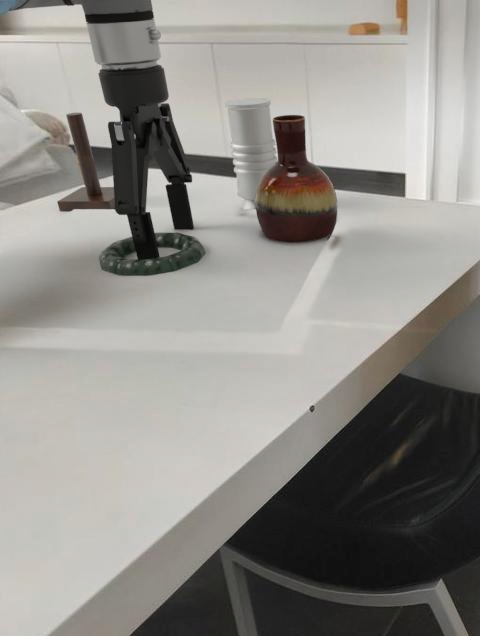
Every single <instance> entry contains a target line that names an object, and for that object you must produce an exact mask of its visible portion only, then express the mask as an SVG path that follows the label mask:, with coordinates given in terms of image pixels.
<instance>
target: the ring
mask: <svg viewBox="0 0 480 636" xmlns="http://www.w3.org/2000/svg"><path fill="white" fill-rule="evenodd" d="M154 233H155V237H156V242H157V246H158V248H166V249H167V248H172V249H175V250H179V251H176V252H174V253H171V254H169V255H165V256H160V257H158V258H152V259H136V258H132V259H131V258H126V257H127V256H129V255H131V254H133V253H136V250H135V246H134V242H133V238H132V236H130V237H129V236H128V237H126V238H123V239H120V240H117V241H114V242H112V243H111V244H110V245H108V246H107V247H106V248H104V249H103V250H102V251H101V252H100V253H99V257H98V262H99V265H100V269H101V271H104V272H105V273H108V274H109V273H110V274H113V275H116V276H120V277H121V276H123V277H148V276H154V275H161V274H167V273H172V272H177V271H181V270H182V269H185V268H187V267H190V266H192V265H195V264H198V263H199V262H200V261H201V260H202V259H203V257H204V256H205V255H206V254H207V251H206V248H205V247H204V246H203V244H202V243H201V241H200V239H198V238H197V237H195V236H193V235H189V234H185V233H181V232H154Z"/></svg>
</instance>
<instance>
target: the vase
mask: <svg viewBox="0 0 480 636" xmlns="http://www.w3.org/2000/svg"><path fill="white" fill-rule="evenodd" d="M272 128H273V132H274V137H275V138H274V139H275V144H276V145H275V146H276V154H277V162H275V163H276V164H275V165H274V166H272V167H271V168H270V169H269V170H268V171H267V172H266V173H265V175H264V176H263V178H262V179H261V181H260V183H259V186H258V189H257V192H256V200H255V204H256V209H255V212H256V217H257V221H258V224H259V227H260V229H261V231H262V233H263V235H264V236H265V237H266V238H267V239H269V240H271V241H275V242H280V243H306V242H311V241H316V240H320V239H323V238H326V237H327V240H326V241H328V240H329V239H330V237H331V236H332V235H333V232H334V231H335V227H336V224H337V218H338V198H337V193H336V190H335V187H334V185H333V183H332V181H331V179H330V178H329V176H328V175H327V174H326V173H325V172H324V170H322V169H321V168H320V167H319V166H317V165H316V164H315V163H313V162H310V161H309V159H308V157H307V156H308V155H307V147H306V146H307V142H306V117H305V116H304V115H301V114H285V115H278V116H275V117H273V118H272Z"/></svg>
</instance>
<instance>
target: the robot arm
mask: <svg viewBox="0 0 480 636" xmlns="http://www.w3.org/2000/svg"><path fill="white" fill-rule="evenodd" d="M75 5H77V6H79V5H80V6H81V7H82V10H83V13H84V18H85V22H86V27H87V33H88V36H89V41H90V46H91V49H92V54H93V55H92V56H93V58H94V62H95V63H96V64H97V65H100V66H101V69H99V72H98V73H97V74H98V78H99V82H100V87H101V89H102V90H101V91H102V95H103V99H104V102H105V104H107V106H110V107H116V108H117V109H118V111H119V119H120V120H119V121H108V123H107V129H108V134H109V138H110V144H111V145H110V146H111V161H112V180H113V187H114V200H115V208H114V211H115V213H116V214H118V215H119V216H126V217H127V221H128V225H129V229H130V234H131V237H132V238H133V242H134V246H135V250H136V252H135V254H136V258H137V259H152V258H158V257H161V256H160V252H159V247H158V246H157V242H156V237H155V233H156V232H155V229H154V224H153V219H152V214H151V212H150V211H147V197H148V179H149V164H150V162H151V161H152V160H153V159H154V160H155V162H156V164H157V166H158V167H159V169H160V170H161V172H162V174H163V176H164V177H165V179H166V181H167V182H168V184H166V185H165V190H166V195H167V200H168V201H167V202H168V206H169V211H170V215H171V220H172V225H173V230H174V231H175V230H177V231H182V230H183V231H193V230H195V225H194V220H193V215H192V208H191V203H190V198H189V192H188V187H187V184H189V183H190V184H191V183H193V175H192V174H191V168H190V167H191V166H190V164H189V162H188V158H187V156H186V153H185V150H184V148H183V147H184V146H183V145H182V142H181V140H180V139H181V138H180V136H179V134H178V131H177V128H176V125H175V123H174V119H173V114H172V110H171V105H170V104H169V102H167V101H168V100H169V96H170V94H169V89H168V84H167V79H166V78H167V77H166V72H165V68H164V67H163V66H162V65H161V64H158V61H159V60H160V59H161V58H162V53H161V48H160V43H159V40H160V39H161V37H162V34H161V31H160V30H159V29H157V26H156V21H155V15H154V11H153V10H154V9H153V4H152V0H0V16H1V15H4V14H7V13H8V12H12V11H19V10H23V9H24V10H25V9H37V8H48V7H49V8H51V7H62V6H68V7H71V6H72V7H73V6H75Z"/></svg>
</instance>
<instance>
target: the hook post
mask: <svg viewBox="0 0 480 636" xmlns="http://www.w3.org/2000/svg"><path fill="white" fill-rule="evenodd" d="M66 121H67V124H68V127H69V131H70V135H71V138H72V139H71V140H72V143H73V146H74V150H75V153H76V158H77V161H78V164H79V169H80V172H81V177H82V180H83V184H84V186H82V187H80V188H78V189H76V190H74V191H73V192H71V193H69V194H68V195H66V196H64V197H63V198H61V199H59V200H57V202H56V203H57V206H58V210H59V211H60V212H71V211H72V212H73V211H74V210H115V200H114V186H101V183H100V179H99V175H98V171H97V167H96V163H95V159H94V156H93V152H92V147H91V144H90V139H89V135H88V132H87V128H86V127H87V126H86V124H85V120H84V115H83V113H82V112H69V113H67V114H66Z"/></svg>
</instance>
